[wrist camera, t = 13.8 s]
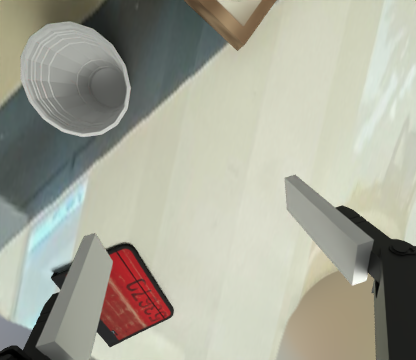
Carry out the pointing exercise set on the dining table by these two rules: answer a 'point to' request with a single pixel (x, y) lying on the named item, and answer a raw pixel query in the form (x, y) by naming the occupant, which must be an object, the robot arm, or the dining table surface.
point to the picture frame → (232, 17)
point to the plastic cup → (75, 79)
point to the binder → (128, 297)
